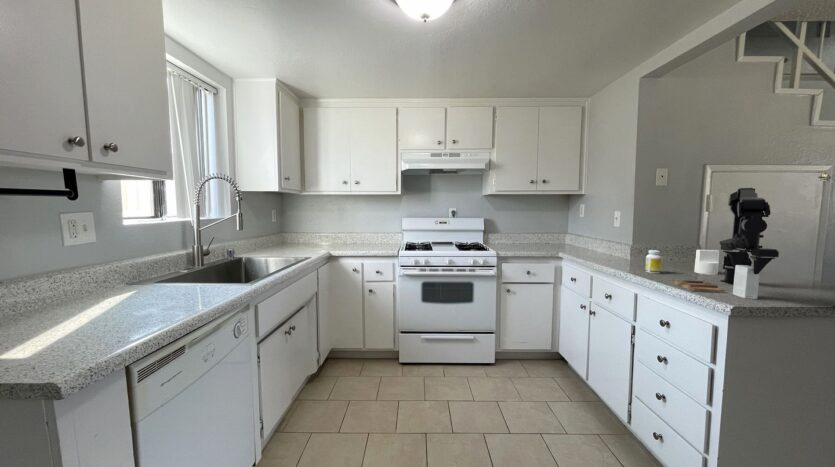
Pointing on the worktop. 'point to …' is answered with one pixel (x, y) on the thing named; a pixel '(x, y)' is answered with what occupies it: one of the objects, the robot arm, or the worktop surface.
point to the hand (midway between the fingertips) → (745, 271)
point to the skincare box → (745, 282)
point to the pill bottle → (653, 262)
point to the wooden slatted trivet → (699, 286)
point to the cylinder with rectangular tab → (707, 262)
